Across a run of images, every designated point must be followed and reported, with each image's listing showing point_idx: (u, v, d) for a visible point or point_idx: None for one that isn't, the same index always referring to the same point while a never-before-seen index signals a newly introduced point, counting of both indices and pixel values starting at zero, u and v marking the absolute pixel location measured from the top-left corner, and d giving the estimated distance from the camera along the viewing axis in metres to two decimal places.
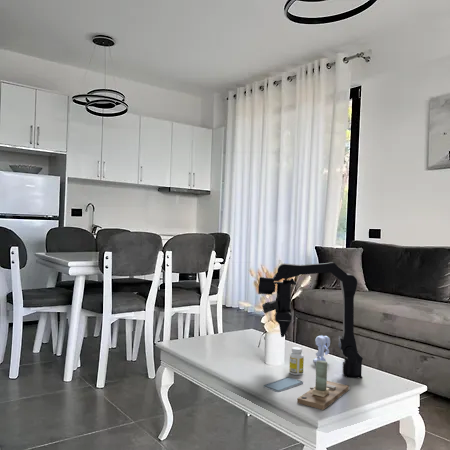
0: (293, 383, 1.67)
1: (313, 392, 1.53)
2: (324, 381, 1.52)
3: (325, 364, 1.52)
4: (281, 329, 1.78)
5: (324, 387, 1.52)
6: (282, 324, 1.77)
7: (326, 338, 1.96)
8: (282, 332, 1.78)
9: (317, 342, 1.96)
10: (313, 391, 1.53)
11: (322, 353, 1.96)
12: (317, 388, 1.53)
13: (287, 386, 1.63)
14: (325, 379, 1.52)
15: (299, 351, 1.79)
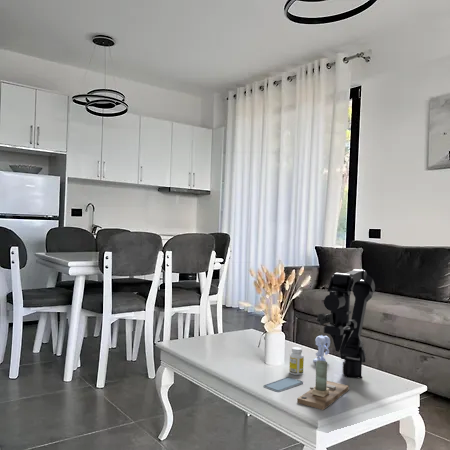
0: (293, 383, 1.67)
1: (313, 392, 1.53)
2: (324, 381, 1.52)
3: (325, 364, 1.52)
4: (335, 342, 1.65)
5: (324, 387, 1.52)
6: (336, 337, 1.65)
7: (326, 338, 1.96)
8: (336, 346, 1.65)
9: (317, 342, 1.96)
10: (313, 391, 1.53)
11: (322, 353, 1.96)
12: (317, 388, 1.53)
13: (287, 386, 1.63)
14: (325, 379, 1.52)
15: (299, 351, 1.79)
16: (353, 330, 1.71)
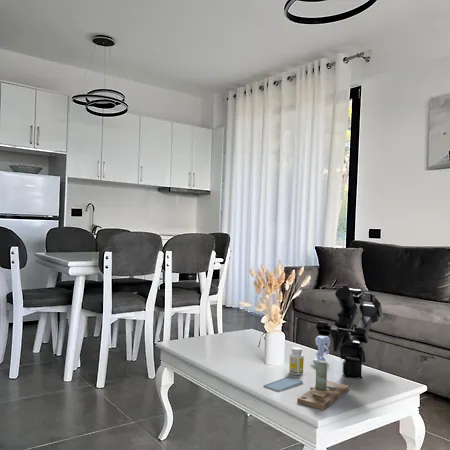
0: (293, 383, 1.67)
1: (313, 392, 1.53)
2: (324, 381, 1.52)
3: (325, 364, 1.52)
4: None
5: (324, 387, 1.52)
6: None
7: (326, 338, 1.96)
8: None
9: (317, 342, 1.96)
10: (313, 391, 1.53)
11: (322, 353, 1.96)
12: (317, 388, 1.53)
13: (287, 386, 1.63)
14: (325, 379, 1.52)
15: (299, 351, 1.79)
16: (346, 332, 1.64)
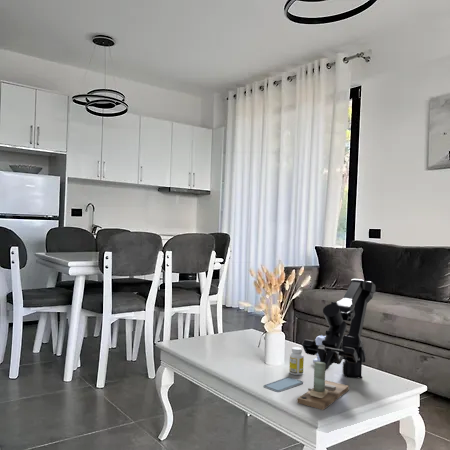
0: (293, 383, 1.67)
1: (311, 393, 1.51)
2: (322, 382, 1.51)
3: (323, 365, 1.51)
4: None
5: (322, 388, 1.51)
6: None
7: None
8: None
9: (317, 342, 1.96)
10: (311, 392, 1.51)
11: None
12: (315, 389, 1.51)
13: (287, 386, 1.63)
14: (323, 380, 1.51)
15: (299, 351, 1.79)
16: (334, 351, 1.55)
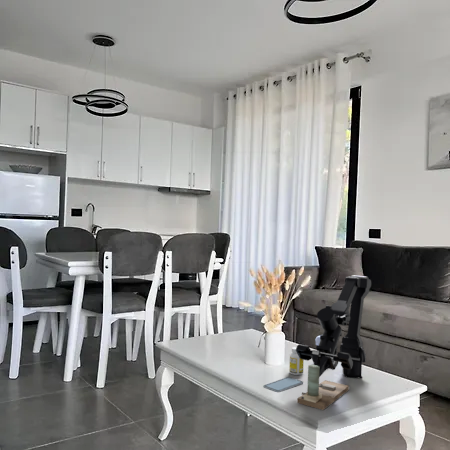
0: (293, 383, 1.67)
1: (305, 398, 1.47)
2: (316, 386, 1.47)
3: (317, 369, 1.47)
4: None
5: (316, 392, 1.47)
6: None
7: None
8: None
9: (317, 342, 1.96)
10: (305, 397, 1.47)
11: None
12: (309, 393, 1.47)
13: (287, 386, 1.63)
14: (317, 384, 1.47)
15: None
16: (328, 357, 1.51)
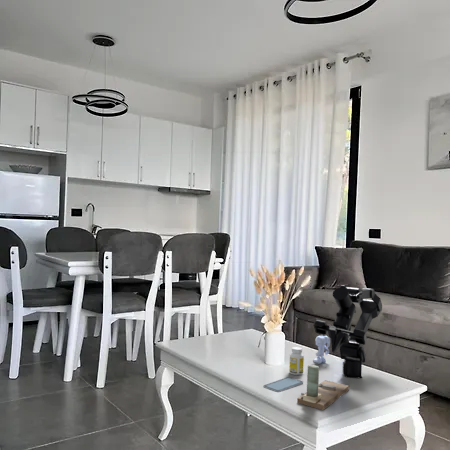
0: (293, 383, 1.67)
1: (304, 398, 1.47)
2: (316, 387, 1.46)
3: (317, 369, 1.47)
4: None
5: (316, 393, 1.46)
6: None
7: (326, 338, 1.96)
8: (332, 346, 1.65)
9: (317, 342, 1.96)
10: (304, 397, 1.47)
11: (322, 353, 1.96)
12: (308, 394, 1.47)
13: (287, 386, 1.63)
14: (317, 384, 1.47)
15: (299, 351, 1.79)
16: (345, 333, 1.63)
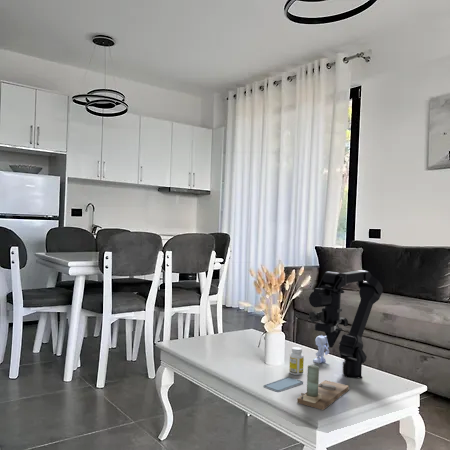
0: (293, 383, 1.67)
1: (304, 398, 1.47)
2: (316, 387, 1.46)
3: (317, 369, 1.47)
4: (328, 338, 1.71)
5: (316, 393, 1.46)
6: (329, 334, 1.70)
7: (326, 338, 1.96)
8: (329, 342, 1.71)
9: (317, 342, 1.96)
10: (304, 397, 1.47)
11: (322, 353, 1.96)
12: (308, 394, 1.47)
13: (287, 386, 1.63)
14: (317, 384, 1.47)
15: (299, 351, 1.79)
16: None
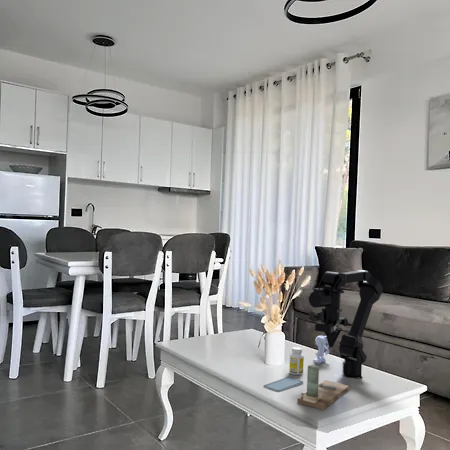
0: (293, 383, 1.67)
1: (304, 398, 1.47)
2: (316, 387, 1.46)
3: (317, 369, 1.47)
4: (328, 338, 1.71)
5: (316, 393, 1.46)
6: (329, 334, 1.70)
7: (326, 338, 1.96)
8: (329, 342, 1.71)
9: (317, 342, 1.96)
10: (304, 397, 1.47)
11: (322, 353, 1.96)
12: (308, 394, 1.47)
13: (287, 386, 1.63)
14: (317, 384, 1.47)
15: (299, 351, 1.79)
16: (341, 329, 1.72)
